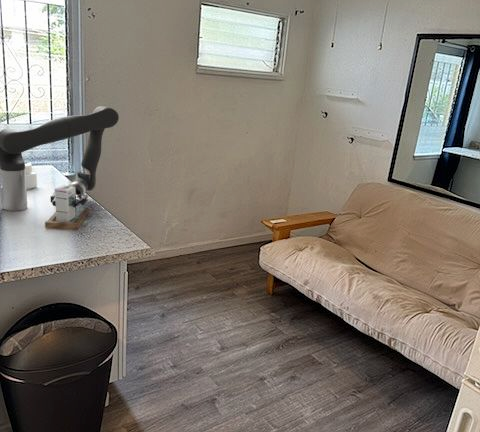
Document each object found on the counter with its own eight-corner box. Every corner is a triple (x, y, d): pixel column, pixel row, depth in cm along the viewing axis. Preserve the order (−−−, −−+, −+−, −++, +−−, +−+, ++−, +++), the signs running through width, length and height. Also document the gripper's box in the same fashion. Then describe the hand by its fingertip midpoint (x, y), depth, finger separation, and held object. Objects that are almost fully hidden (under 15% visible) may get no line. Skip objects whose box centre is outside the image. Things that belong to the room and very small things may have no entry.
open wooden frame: (45, 228, 172) (45, 222, 171) (61, 210, 192) (60, 204, 191) (83, 230, 174) (82, 224, 173) (94, 212, 194) (94, 206, 193)
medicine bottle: (14, 187, 214) (12, 163, 210) (26, 184, 220) (25, 160, 216) (25, 190, 212) (24, 165, 208) (37, 187, 218) (36, 163, 214)
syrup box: (69, 224, 176) (68, 190, 171) (55, 222, 177) (54, 187, 172) (76, 220, 181) (76, 186, 176) (63, 217, 182) (62, 184, 177)
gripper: (57, 182, 188) (44, 194, 172) (92, 184, 189) (82, 196, 174) (57, 198, 190) (45, 212, 175) (92, 201, 192) (83, 214, 177)
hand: (64, 204), depth 174 cm, fingers closed on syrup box, 7 cm apart
